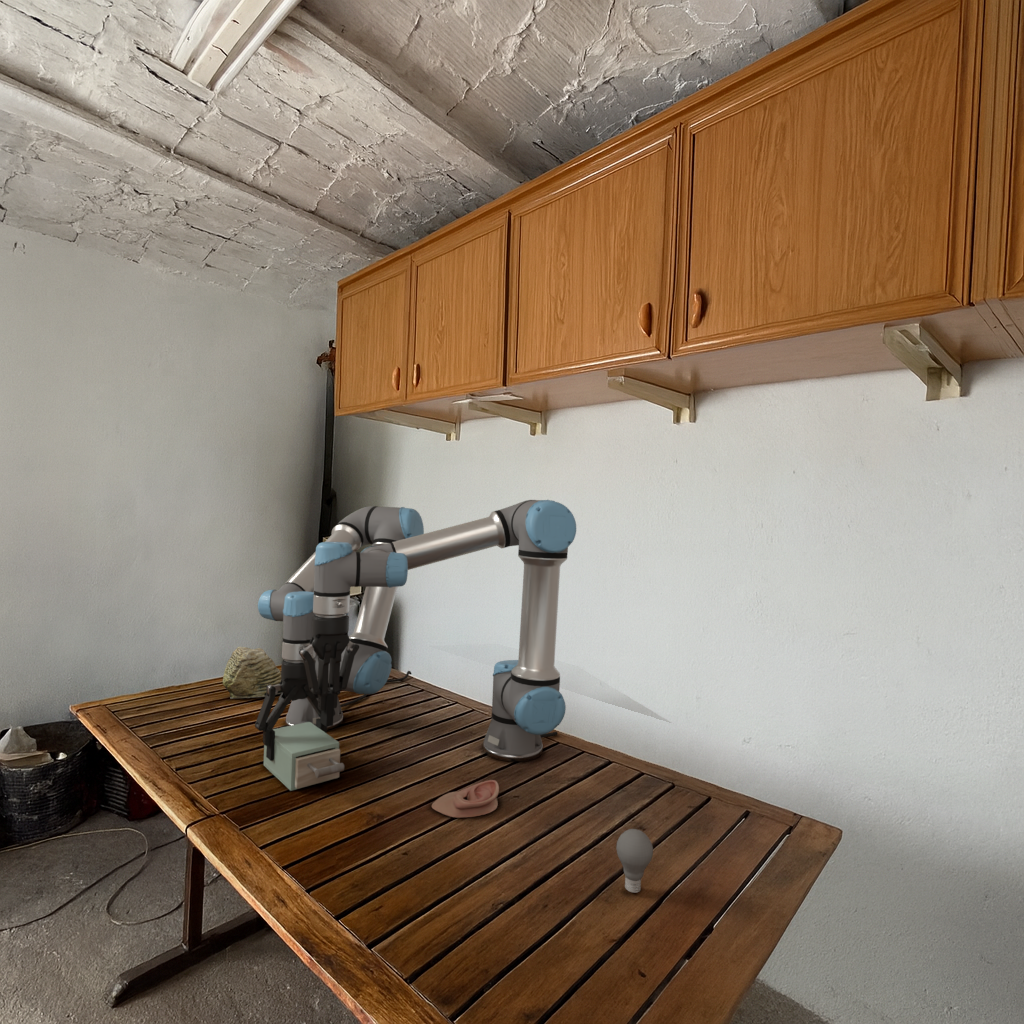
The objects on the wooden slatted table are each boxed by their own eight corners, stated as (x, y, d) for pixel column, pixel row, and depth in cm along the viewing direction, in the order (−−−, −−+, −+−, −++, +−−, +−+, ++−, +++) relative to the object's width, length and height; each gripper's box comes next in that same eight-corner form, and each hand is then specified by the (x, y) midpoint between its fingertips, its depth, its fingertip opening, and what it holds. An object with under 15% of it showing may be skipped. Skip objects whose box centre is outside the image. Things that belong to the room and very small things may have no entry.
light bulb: (610, 879, 108) (613, 822, 108) (644, 879, 109) (647, 822, 109) (619, 902, 102) (622, 840, 102) (655, 901, 103) (658, 840, 103)
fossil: (218, 695, 195) (220, 647, 195) (278, 685, 208) (279, 640, 207) (228, 703, 189) (230, 653, 188) (289, 692, 201) (290, 645, 201)
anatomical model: (427, 794, 128) (444, 771, 139) (426, 813, 128) (443, 788, 139) (490, 803, 125) (503, 779, 137) (489, 823, 126) (502, 797, 137)
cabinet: (338, 778, 143) (339, 742, 143) (290, 791, 136) (292, 753, 136) (308, 754, 155) (309, 721, 155) (263, 765, 148) (264, 730, 148)
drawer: (351, 787, 137) (353, 758, 137) (308, 799, 130) (309, 770, 130) (311, 755, 152) (312, 729, 152) (271, 765, 146) (272, 738, 146)
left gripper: (253, 669, 137) (249, 770, 137) (352, 656, 152) (348, 746, 153) (241, 662, 142) (237, 759, 143) (338, 649, 158) (334, 737, 158)
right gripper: (309, 620, 128) (304, 736, 128) (367, 614, 137) (362, 723, 137) (294, 614, 134) (290, 725, 134) (350, 609, 142) (346, 713, 143)
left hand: (295, 752), depth 148 cm, fingers closed on cabinet, 11 cm apart
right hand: (326, 724), depth 136 cm, fingers closed
